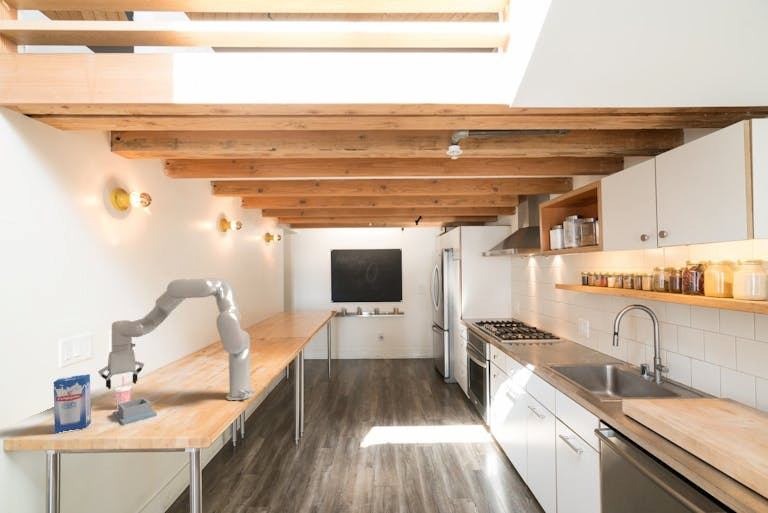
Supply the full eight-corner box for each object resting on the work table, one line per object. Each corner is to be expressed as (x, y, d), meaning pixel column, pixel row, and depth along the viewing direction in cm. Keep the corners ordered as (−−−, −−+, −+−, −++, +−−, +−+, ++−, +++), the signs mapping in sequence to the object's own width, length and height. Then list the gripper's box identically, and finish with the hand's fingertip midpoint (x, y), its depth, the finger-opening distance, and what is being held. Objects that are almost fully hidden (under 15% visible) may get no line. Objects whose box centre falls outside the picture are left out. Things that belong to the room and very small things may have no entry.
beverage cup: (122, 405, 174) (121, 374, 175) (134, 404, 174) (134, 374, 174) (112, 410, 168) (111, 378, 169) (125, 409, 168) (124, 378, 168)
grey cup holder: (156, 415, 160) (156, 403, 160) (122, 425, 151) (122, 412, 151) (145, 405, 172) (144, 394, 172) (113, 414, 163) (112, 402, 164)
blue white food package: (54, 434, 145) (53, 382, 146) (60, 428, 151) (59, 377, 151) (86, 428, 149) (85, 377, 150) (91, 422, 155) (90, 374, 155)
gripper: (141, 343, 181) (141, 379, 180) (96, 350, 168) (96, 388, 168) (145, 345, 175) (146, 382, 175) (100, 352, 163) (100, 392, 163)
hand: (122, 385), depth 171 cm, fingers open, 9 cm apart
